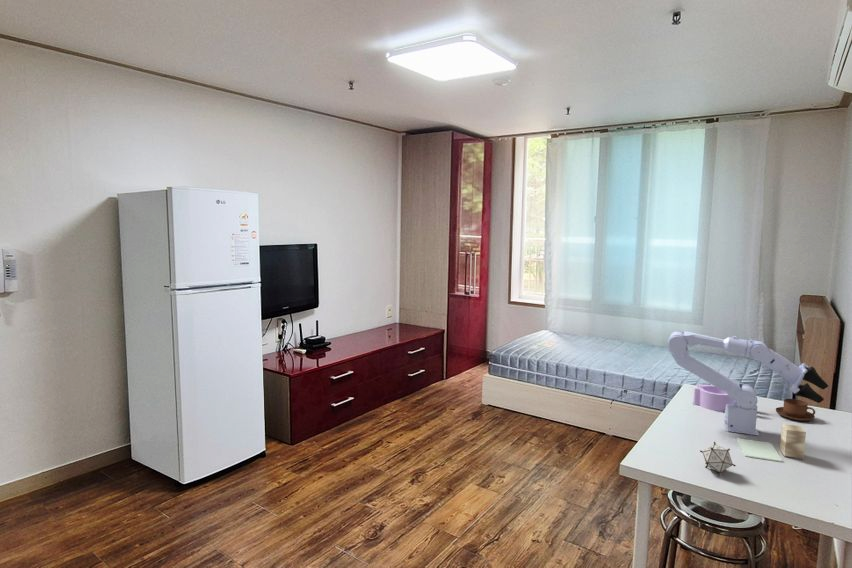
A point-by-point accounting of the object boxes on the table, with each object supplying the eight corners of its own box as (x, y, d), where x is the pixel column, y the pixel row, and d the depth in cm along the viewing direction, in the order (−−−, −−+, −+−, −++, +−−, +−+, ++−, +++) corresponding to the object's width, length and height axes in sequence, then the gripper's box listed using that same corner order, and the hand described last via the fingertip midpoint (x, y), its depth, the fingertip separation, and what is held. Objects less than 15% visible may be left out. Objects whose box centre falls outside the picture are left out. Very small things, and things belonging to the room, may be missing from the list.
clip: (753, 409, 199) (755, 392, 198) (749, 418, 189) (751, 401, 188) (698, 398, 211) (699, 382, 211) (691, 406, 202) (692, 389, 201)
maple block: (784, 457, 157) (786, 429, 156) (779, 450, 162) (782, 423, 161) (803, 459, 156) (806, 432, 154) (798, 453, 160) (800, 426, 159)
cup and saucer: (811, 415, 193) (812, 400, 192) (816, 426, 183) (818, 409, 182) (773, 409, 199) (775, 394, 198) (776, 419, 189) (778, 403, 188)
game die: (710, 479, 151) (704, 445, 155) (741, 478, 145) (734, 443, 150) (699, 473, 145) (694, 439, 150) (731, 472, 140) (724, 436, 145)
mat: (745, 456, 157) (745, 455, 157) (736, 439, 170) (736, 438, 170) (782, 462, 154) (782, 460, 154) (770, 443, 167) (770, 442, 167)
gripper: (786, 373, 163) (828, 401, 158) (797, 349, 172) (837, 375, 167) (772, 384, 168) (812, 411, 163) (782, 360, 177) (821, 386, 172)
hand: (823, 394), depth 165 cm, fingers open, 7 cm apart
